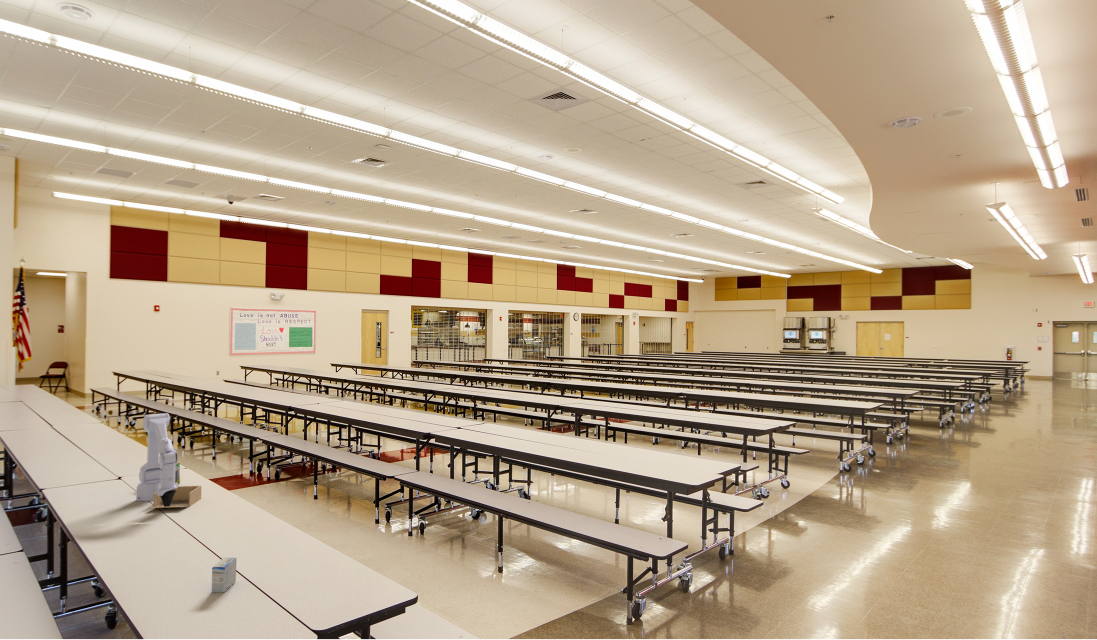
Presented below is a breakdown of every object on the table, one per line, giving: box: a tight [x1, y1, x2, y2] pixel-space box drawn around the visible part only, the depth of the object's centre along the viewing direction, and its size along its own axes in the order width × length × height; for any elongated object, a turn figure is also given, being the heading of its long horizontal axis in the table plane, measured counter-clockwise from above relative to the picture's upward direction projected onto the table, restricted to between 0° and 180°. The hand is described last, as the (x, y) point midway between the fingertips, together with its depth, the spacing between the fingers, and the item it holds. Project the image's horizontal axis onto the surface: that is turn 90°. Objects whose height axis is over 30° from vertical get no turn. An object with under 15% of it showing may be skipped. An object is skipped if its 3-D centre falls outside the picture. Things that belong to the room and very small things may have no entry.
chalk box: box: [175, 462, 181, 485], centre depth 303 cm, size 9×9×15 cm
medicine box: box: [211, 557, 237, 593], centre depth 190 cm, size 8×4×9 cm, turn 5°
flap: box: [148, 505, 188, 509], centre depth 264 cm, size 14×1×6 cm
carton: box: [152, 485, 202, 507], centre depth 273 cm, size 16×12×7 cm
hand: (167, 506), depth 263 cm, fingers closed, pressing on flap
